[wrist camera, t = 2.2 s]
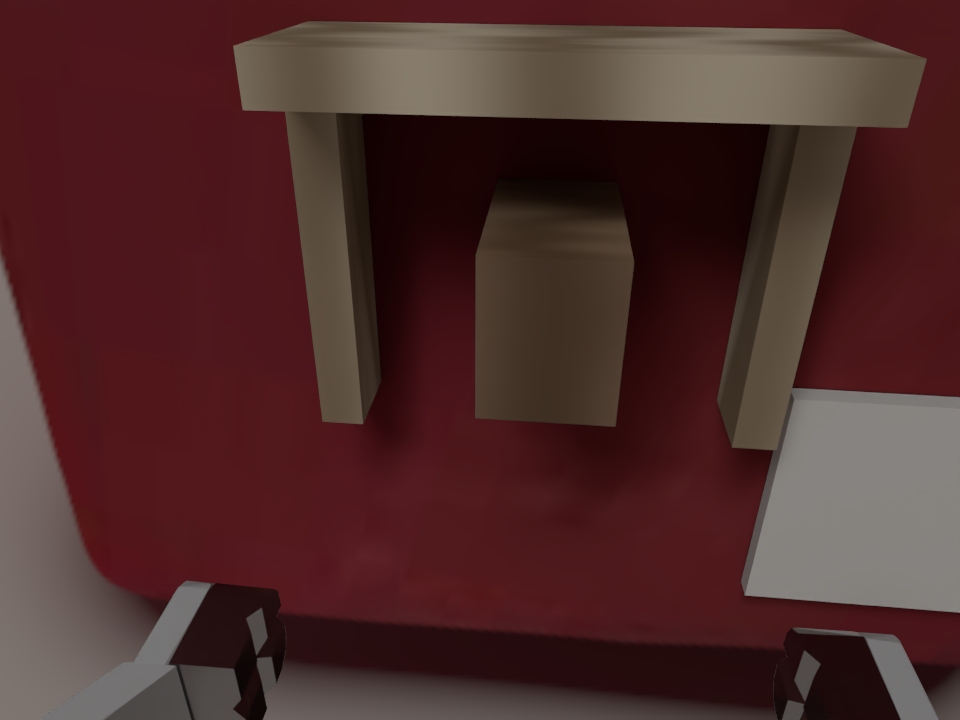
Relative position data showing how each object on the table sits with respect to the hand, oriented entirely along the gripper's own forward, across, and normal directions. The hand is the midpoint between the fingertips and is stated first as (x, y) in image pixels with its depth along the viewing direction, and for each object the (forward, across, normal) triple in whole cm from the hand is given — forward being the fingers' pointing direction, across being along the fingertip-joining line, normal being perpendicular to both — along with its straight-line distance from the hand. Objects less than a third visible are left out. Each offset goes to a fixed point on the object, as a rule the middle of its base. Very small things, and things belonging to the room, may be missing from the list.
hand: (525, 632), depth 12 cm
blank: (+16, 0, 0) cm, 17 cm away
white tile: (+16, -14, +10) cm, 24 cm away
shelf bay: (+16, 0, 0) cm, 16 cm away
